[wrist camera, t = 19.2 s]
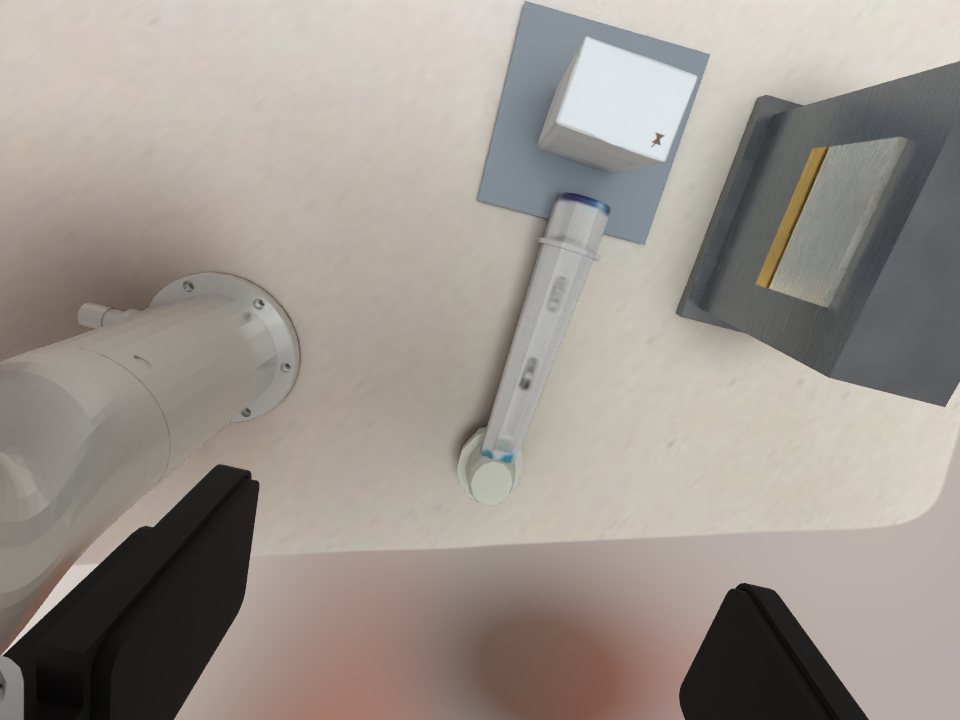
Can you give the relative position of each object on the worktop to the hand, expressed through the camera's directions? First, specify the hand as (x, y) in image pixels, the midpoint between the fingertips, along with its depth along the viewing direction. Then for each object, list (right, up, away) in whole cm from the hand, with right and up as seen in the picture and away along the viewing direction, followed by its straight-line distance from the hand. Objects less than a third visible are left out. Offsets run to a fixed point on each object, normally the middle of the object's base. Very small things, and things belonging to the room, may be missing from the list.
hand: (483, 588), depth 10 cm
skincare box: (+7, +21, +26) cm, 34 cm away
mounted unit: (+21, +15, +29) cm, 39 cm away
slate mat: (+8, +21, +27) cm, 35 cm away
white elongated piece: (+4, +5, +32) cm, 33 cm away
